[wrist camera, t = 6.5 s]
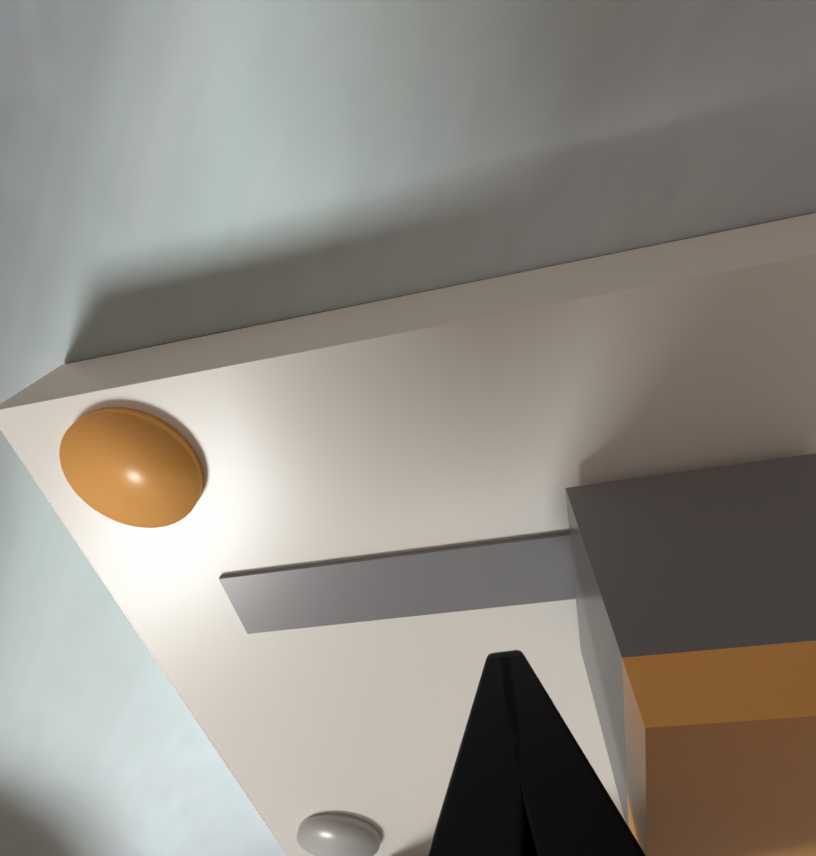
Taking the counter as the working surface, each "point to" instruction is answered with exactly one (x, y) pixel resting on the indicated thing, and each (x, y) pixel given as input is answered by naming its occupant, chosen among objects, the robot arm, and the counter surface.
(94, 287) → the counter surface
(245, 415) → the panel
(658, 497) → the orange-topped grey block
